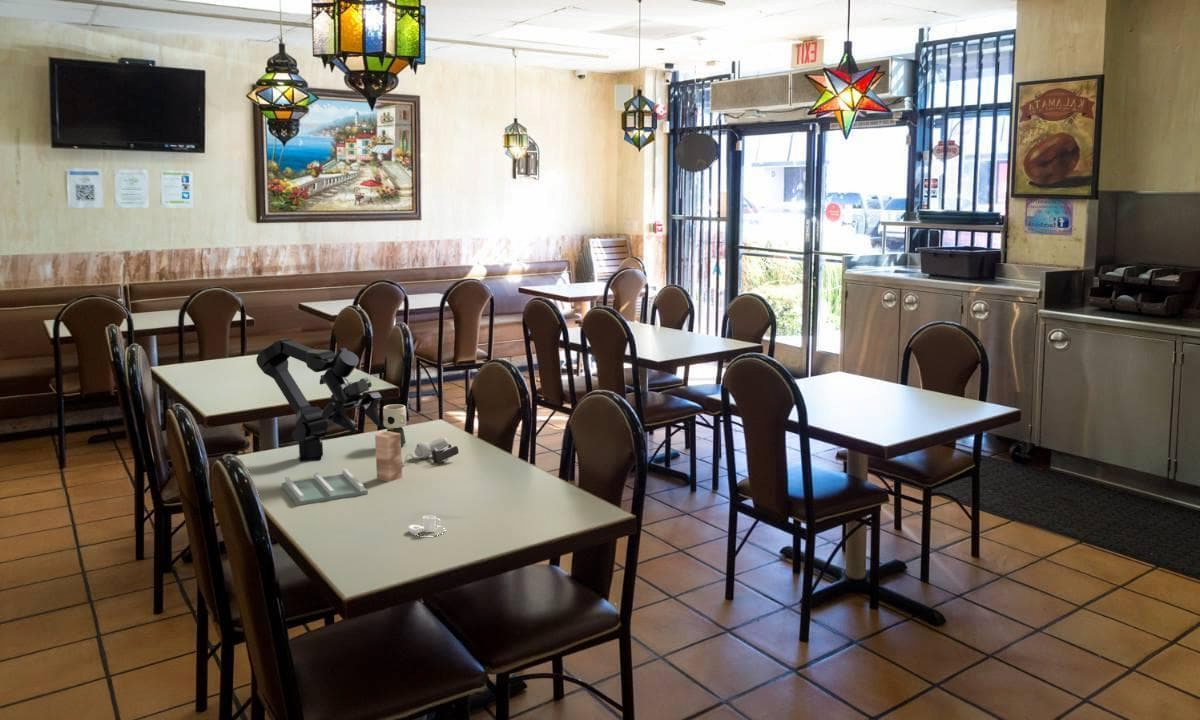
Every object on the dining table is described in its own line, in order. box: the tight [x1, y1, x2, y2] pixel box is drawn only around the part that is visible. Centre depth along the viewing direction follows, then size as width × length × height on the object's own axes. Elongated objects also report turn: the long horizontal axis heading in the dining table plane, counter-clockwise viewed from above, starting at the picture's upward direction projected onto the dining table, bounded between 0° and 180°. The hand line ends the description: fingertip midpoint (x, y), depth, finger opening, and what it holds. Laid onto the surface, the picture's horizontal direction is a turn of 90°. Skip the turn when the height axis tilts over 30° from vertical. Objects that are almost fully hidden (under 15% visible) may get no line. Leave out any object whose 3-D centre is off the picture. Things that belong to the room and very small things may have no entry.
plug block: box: [374, 430, 403, 483], centre depth 272 cm, size 5×5×13 cm
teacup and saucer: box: [407, 514, 447, 538], centre depth 231 cm, size 9×8×4 cm
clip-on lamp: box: [402, 436, 460, 466], centre depth 289 cm, size 12×6×18 cm
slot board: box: [281, 468, 369, 506], centre depth 262 cm, size 18×19×2 cm
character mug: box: [382, 403, 407, 446], centre depth 305 cm, size 11×7×13 cm, turn 51°
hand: (367, 428), depth 275 cm, fingers open, 9 cm apart
